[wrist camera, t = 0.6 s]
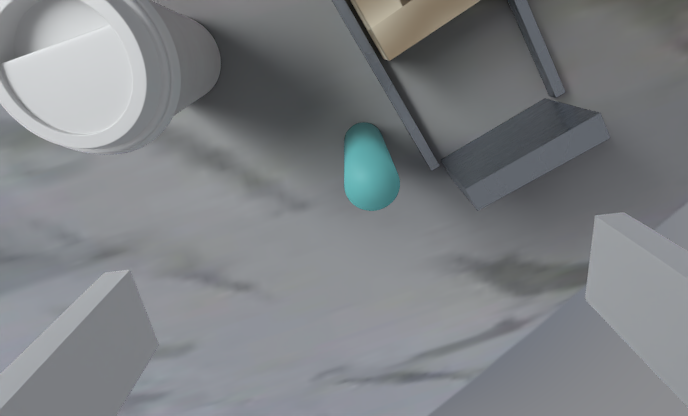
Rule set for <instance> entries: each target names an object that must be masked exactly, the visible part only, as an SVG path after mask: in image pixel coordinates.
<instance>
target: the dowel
mask: <svg viewBox="0 0 688 416" xmlns="http://www.w3.org/2000/svg"><path fill="white" fill-rule="evenodd" d="M344 188H345V193H346V195H347V197H348V199H349V200H350V201H351V202H352V203H353V204H354V205H355V206H357V207H358V208H361V209H363V210H369V211H374V210H380V209H382V208H385V207H386V206H388V205H389V204H391V203H392V202H393V201H394V199H395V198H396V196H397V194H398V192H399V188H400V180H399V176H398V173H397V171H396V168H395V166H394V163H393V161H392V159H391V156H390V154H389V151H388V149H387V147H386V144H385V142H384V139H383V137H382V135H381V133H380V131H379V129H378V128H377V127H376V126H374V125H372V124H370V123H364V122H363V123H358V124H355V125H353V126H352V127H351V128H350V129H349V130H348V131H347V133H346V135H345V140H344Z"/></svg>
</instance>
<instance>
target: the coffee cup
mask: <svg viewBox="0 0 688 416" xmlns="http://www.w3.org/2000/svg"><path fill="white" fill-rule="evenodd" d="M220 70H221V57H220V52H219V49H218V46H217V44H216V42H215V40H214V38H213V37H212V35H211V34H210V33H209V32H208V30H207V29H206V28H205V27H203V26H202V25H201V24H200V23H198V22H196V21H195V20H193V19H191V18H188V17H186V16H184V15H182V14H179V13H177V12H175V11H173V10H170V9H168V8H166V7H164V6H161V5H159V4H157V3H155V2H152V1H150V0H0V103H1V105H2V106H3V107H4V108H5V110H6V111H7V112H8V113H9V114H10V115H11V116H12V117H13V118H14V119H15V120H16V121H17V122H19V123H20V124H21V125H22V126H24V127H25V128H26V129H28V130H29V131H31V132H32V133H34V134H35V135H37V136H39V137H41V138H43V139H45V140H47V141H50V142H52V143H55V144H58V145H61V146H64V147H66V148H69V149H72V150H76V151H80V152H84V153H90V154H100V155H113V154H122V153H127V152H131V151H134V150H137V149H139V148H142V147H144V146H146V145H147V144H149V143H150V142H152V141H153V140H154V139H156V138H157V137H158V136H159V135H160V134H161V133H162V132H163V131H164V130H165V128H166V127H167V126H168V124H169V123H170V121H171V119H172V117H173V116H174V115H176V114H177V113H178V112H180V111H181V110H183V109H184V108H186V107H187V106H189V105H190V104H192V103H193V102H195V101H196V100H198V99H199V98H201V97H202V96H204V95H205V94H206V93H208V92H209V91H210V90H211V89H212V88H213V87H214V85H215V84H216V82H217V80H218V78H219V75H220Z"/></svg>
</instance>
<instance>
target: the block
mask: <svg viewBox="0 0 688 416" xmlns="http://www.w3.org/2000/svg"><path fill="white" fill-rule="evenodd" d="M350 1H351V3H352V5H353V6H354V8H355V10H356V12H357V13H358V15H359V17H360V19H361V20H362V22H363V24H364V26H365V27H366V29H367V31H368V33H369V34H370V36H371V38H372V40H373V42H374V43H375V45H376V47H377V49H378V50H379V52H380V54H381V56H382V57H383V59H385V60H388V61H390V60H392V59H393V58H395V57H396V56H398V55H399V54H401V53H402V52H404V51H405V50H407V49H408V48H410V47H411V46H413V45H414V44H416V43H417V42H419V41H420V40H422V39H423V38H425V37H426V36H428V35H429V34H431V33H432V32H434V31H435V30H437V29H438V28H440V27H441V26H443V25H444V24H446V23H447V22H449V21H450V20H452V19H453V18H455V17H456V16H458V15H459V14H461V13H462V12H464V11H465V10H467V9H468V8H470V7H471V6H473V5H474V4H476V3H477V2H479V1H480V0H350Z"/></svg>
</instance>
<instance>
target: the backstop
mask: <svg viewBox="0 0 688 416" xmlns="http://www.w3.org/2000/svg"><path fill="white" fill-rule="evenodd" d="M332 2H333V3H334V5H335V7H336V8H337V10H338V12H339V14H340V15H341V17H342V19H343V20H344V22H345V24H346V26H347V27H348V29H349V31H350V32H351V34H352V36H353V38H354V39H355V41H356V43H357V44H358V46H359V48H360V50H361V51H362V53H363V55H364V56H365V58H366V60H367V62H368V63H369V65H370V67H371V68H372V70H373V72H374V74H375V75H376V77H377V79H378V80H379V82H380V84H381V86H382V87H383V89H384V91H385V92H386V94H387V96H388V98H389V99H390V101H391V103H392V104H393V106H394V108H395V110H396V111H397V113H398V115H399V116H400V118H401V120H402V122H403V123H404V125H405V127H406V128H407V130H408V132H409V134H410V135H411V137H412V139H413V140H414V142H415V144H416V146H417V147H418V149H419V151H420V152H421V154H422V156H423V158H424V159H425V161H426V163H427V164H428V166H429V168H430V169H431V171H432V170H434V169H435V168H437V167H439V164H438V162H437V160H436V159H435V157H434V155H433V153H432V152H431V150H430V148H429V146H428V145H427V143H426V141H425V139H424V138H423V136H422V134H421V133H420V131H419V129H418V127H417V126H416V124H415V122H414V120H413V119H412V117H411V115H410V113H409V112H408V110H407V108H406V106H405V105H404V103H403V101H402V99H401V98H400V96H399V94H398V92H397V91H396V89H395V87H394V85H393V84H392V82H391V80H390V78H389V77H388V75H387V73H386V71H385V70H384V68H383V66H382V64H381V63H380V61H379V59H378V57H377V56H376V54H375V52H374V50H373V49H372V47H371V45H370V43H369V42H368V40H367V38H366V36H365V35H364V33H363V31H362V29H361V28H360V26H359V24H358V22H357V21H356V19H355V17H354V15H353V14H352V12H351V10H350V8H349V7H348V5H347V3H346V1H345V0H332ZM508 2H509V5H510V7H511V9H512V12H513V14H514V16H515V19H516V21H517V23H518V25H519V28H520V30H521V32H522V35H523V37H524V39H525V41H526V44H527V46H528V48H529V51H530V53H531V55H532V57H533V60H534V62H535V64H536V67H537V69H538V71H539V73H540V76H541V78H542V80H543V83H544V85H545V87H546V89H547V92H548V94H549V96H552V97H558V96H560V95H561V94H563V93H565V90H564V87H563V85H562V83H561V80H560V78H559V76H558V73H557V71H556V68H555V66H554V64H553V61H552V59H551V57H550V54H549V52H548V49H547V47H546V45H545V42H544V40H543V38H542V35H541V33H540V30H539V28H538V26H537V23H536V21H535V19H534V16H533V14H532V11H531V9H530V7H529V4H528V2H527V0H508ZM609 138H610V136H609V133H608V131H607V128H606V126H605V123H604V121H603V118H602V116H601V113H599V112H595V111H591V110H587V109H583V108H580V107H576V106H572V105H568V104H564V103H560V102H556V101H552V100H549V99H543V100H542V101H540V102H538V103H536V104H535V105H533V106H531V107H530V108H528V109H526V110H525V111H523V112H521V113H520V114H518V115H516V116H514V117H513V118H511V119H509V120H508V121H506V122H504V123H503V124H501V125H499V126H497V127H496V128H494V129H492V130H491V131H489V132H487V133H486V134H484V135H482V136H481V137H479V138H477V139H475V140H474V141H472V142H470V143H469V144H467V145H465V146H464V147H462V148H460V149H458V150H457V151H455V152H453V153H452V154H450V155H448V156H447V157H445V158H443V159H442V160H441V161H442V163H443V165H444V167H445V168H446V170H447V172H448V174H449V176H450V177H451V179H452V180H453V181H454V182H455V184H456V185H457V186H458V187H459V189H460V190H461V191H462V192H463V194H464V195H465V196H466V197H467V198H468V200H469V201H470V202H471V203H472V205H473V206H474V207H475V208H476V210H477V211H478V210H480V209H482V208H484V207H485V206H487V205H489V204H491V203H493V202H495V201H496V200H498V199H500V198H502V197H504V196H505V195H507V194H509V193H511V192H513V191H515V190H516V189H518V188H520V187H522V186H524V185H526V184H527V183H529V182H531V181H533V180H535V179H536V178H538V177H540V176H542V175H544V174H546V173H547V172H549V171H551V170H553V169H555V168H556V167H558V166H560V165H562V164H564V163H566V162H567V161H569V160H571V159H573V158H575V157H576V156H578V155H580V154H582V153H584V152H586V151H587V150H589V149H591V148H593V147H595V146H597V145H598V144H600V143H602V142H604V141H606V140H607V139H609Z"/></svg>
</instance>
